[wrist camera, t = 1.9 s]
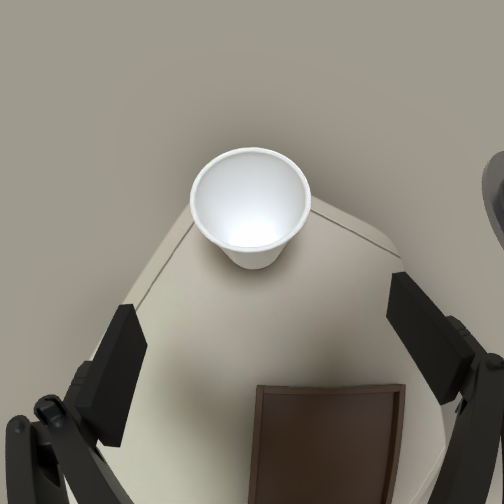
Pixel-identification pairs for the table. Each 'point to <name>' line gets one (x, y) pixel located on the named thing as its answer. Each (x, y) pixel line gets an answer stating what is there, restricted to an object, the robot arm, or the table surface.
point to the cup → (250, 204)
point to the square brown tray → (326, 444)
